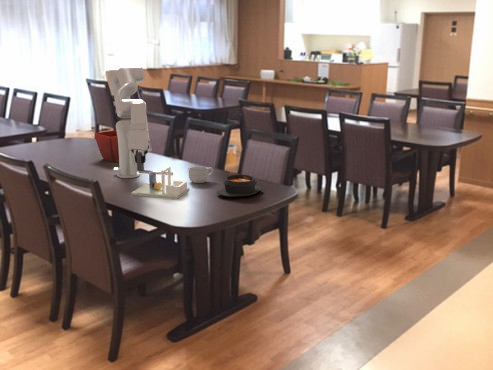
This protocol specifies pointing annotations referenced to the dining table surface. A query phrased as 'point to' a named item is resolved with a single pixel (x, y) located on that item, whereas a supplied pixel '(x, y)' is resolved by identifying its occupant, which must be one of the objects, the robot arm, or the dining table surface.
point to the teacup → (199, 174)
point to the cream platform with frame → (164, 188)
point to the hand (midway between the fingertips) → (140, 162)
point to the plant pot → (108, 145)
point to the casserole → (239, 186)
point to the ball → (157, 185)
